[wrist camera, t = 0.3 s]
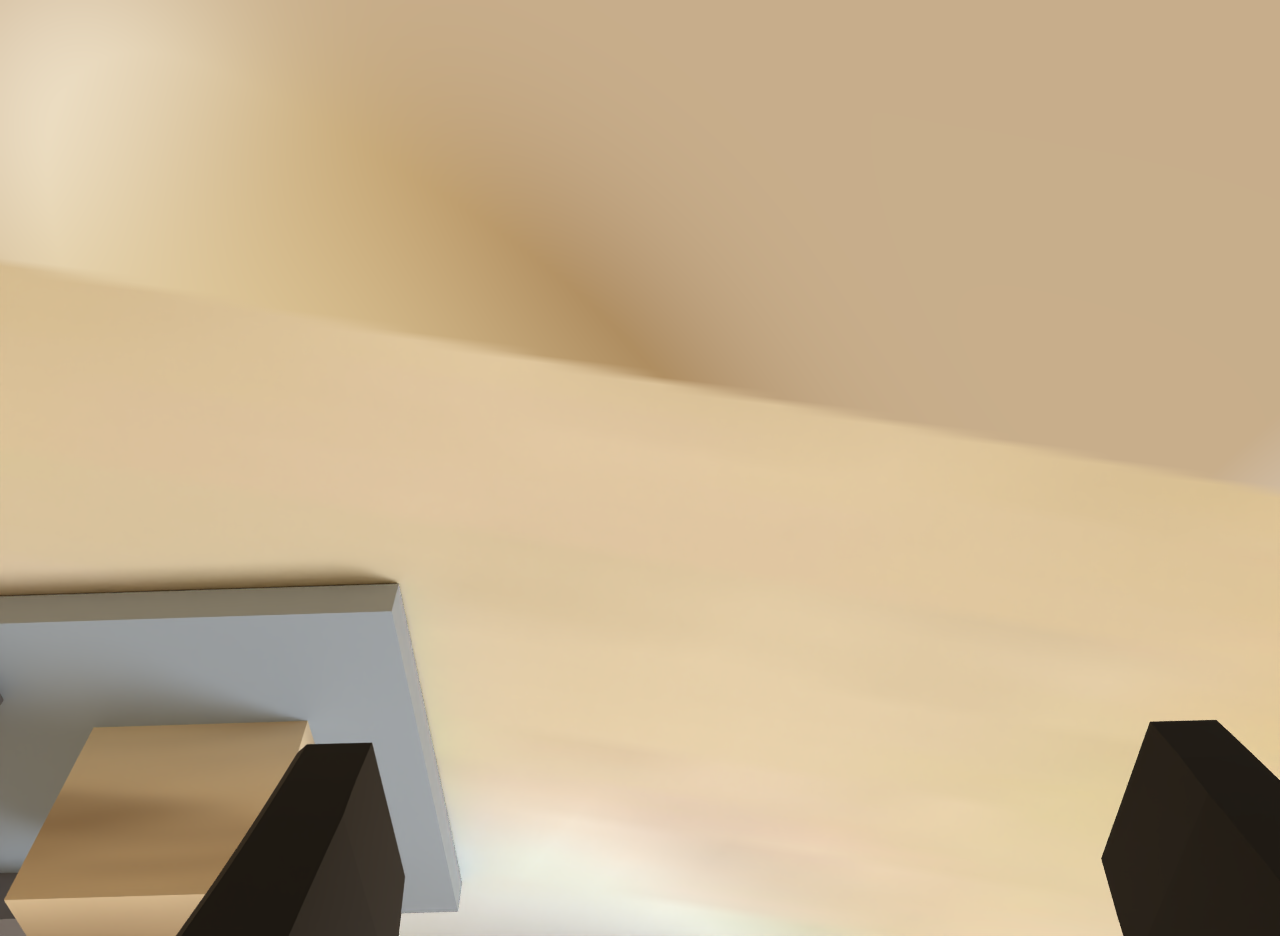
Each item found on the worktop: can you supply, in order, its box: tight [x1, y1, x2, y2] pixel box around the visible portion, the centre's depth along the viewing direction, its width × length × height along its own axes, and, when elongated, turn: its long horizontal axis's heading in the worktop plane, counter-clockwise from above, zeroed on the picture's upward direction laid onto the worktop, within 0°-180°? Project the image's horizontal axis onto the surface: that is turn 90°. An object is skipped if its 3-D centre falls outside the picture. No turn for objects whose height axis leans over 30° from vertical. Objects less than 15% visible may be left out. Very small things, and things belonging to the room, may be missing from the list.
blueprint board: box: [0, 584, 462, 936], centre depth 24 cm, size 10×15×2 cm, turn 91°
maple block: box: [4, 721, 315, 936], centre depth 22 cm, size 4×4×4 cm
